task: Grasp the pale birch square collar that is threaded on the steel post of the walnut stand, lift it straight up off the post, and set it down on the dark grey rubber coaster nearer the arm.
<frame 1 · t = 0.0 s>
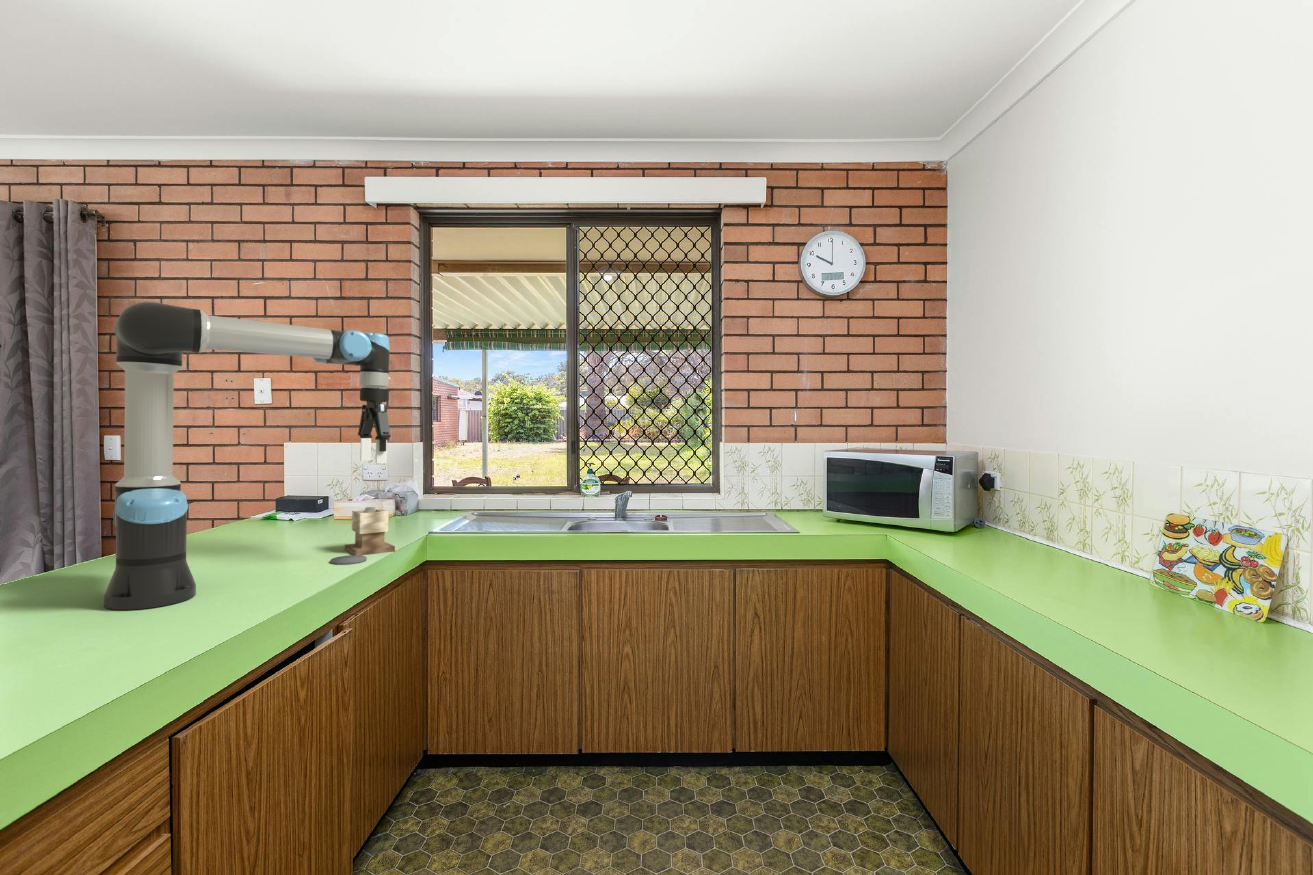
hand: (373, 461, 171), 28 cm above the counter, fingers open, 13 cm apart
rubber coaster: (348, 560, 168), on the counter
post stand: (369, 550, 182), on the counter
birch collar: (369, 530, 182), point 6 cm above the counter, touching post stand
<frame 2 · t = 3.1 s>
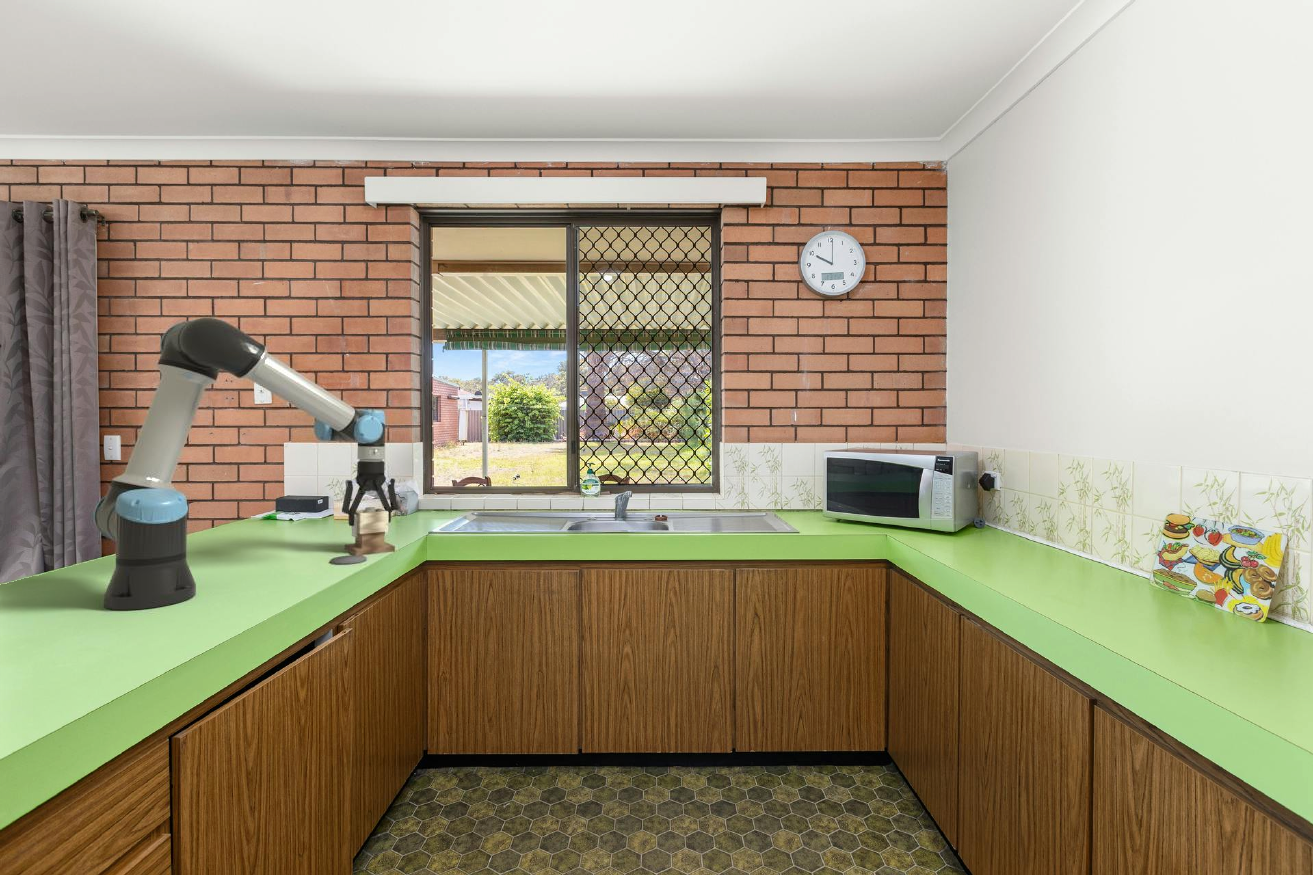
hand: (369, 534, 182), 5 cm above the counter, fingers closed on birch collar, 8 cm apart
birch collar: (369, 530, 182), point 6 cm above the counter, touching gripper, post stand
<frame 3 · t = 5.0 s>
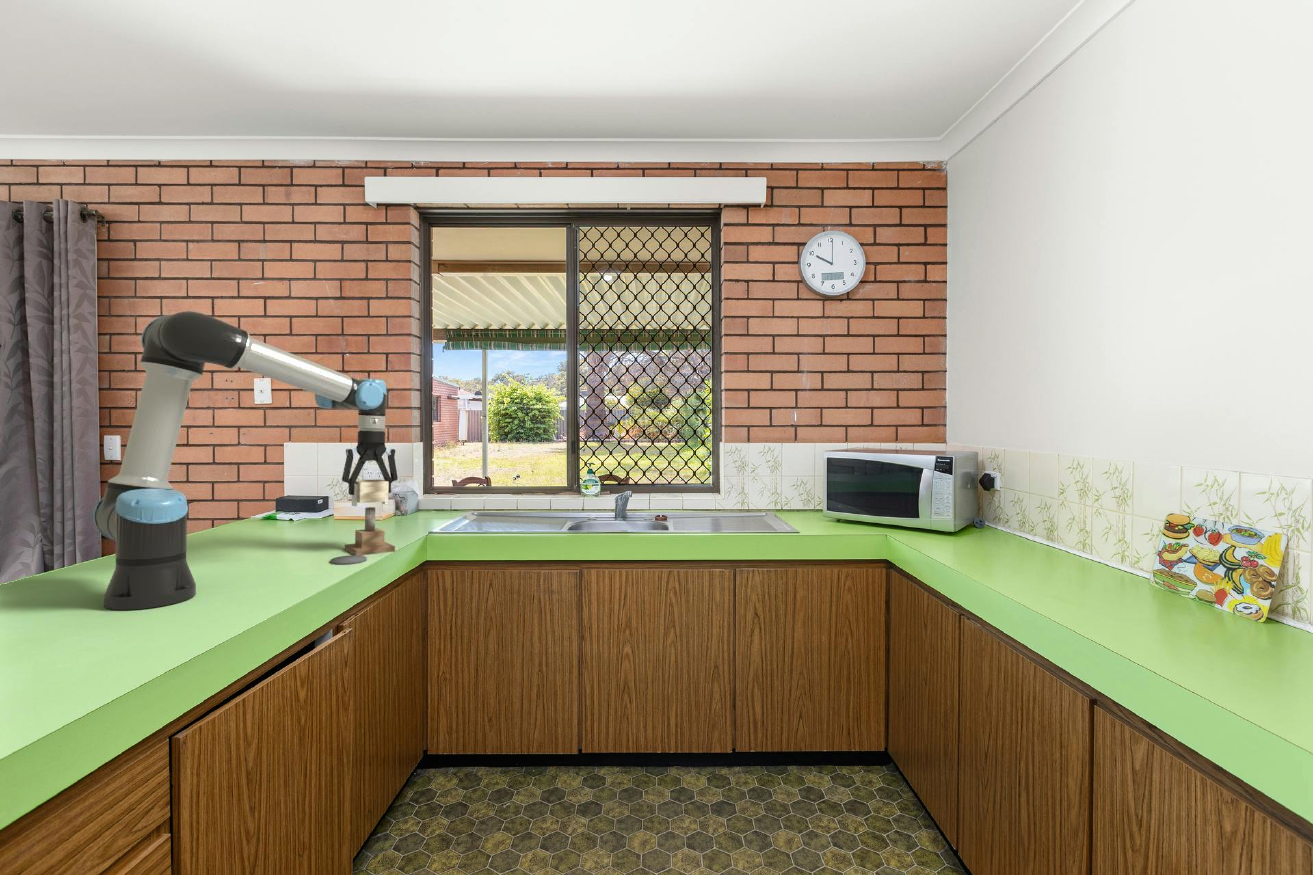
hand: (369, 504, 181), 14 cm above the counter, fingers closed on birch collar, 8 cm apart
birch collar: (369, 500, 181), point 15 cm above the counter, touching gripper
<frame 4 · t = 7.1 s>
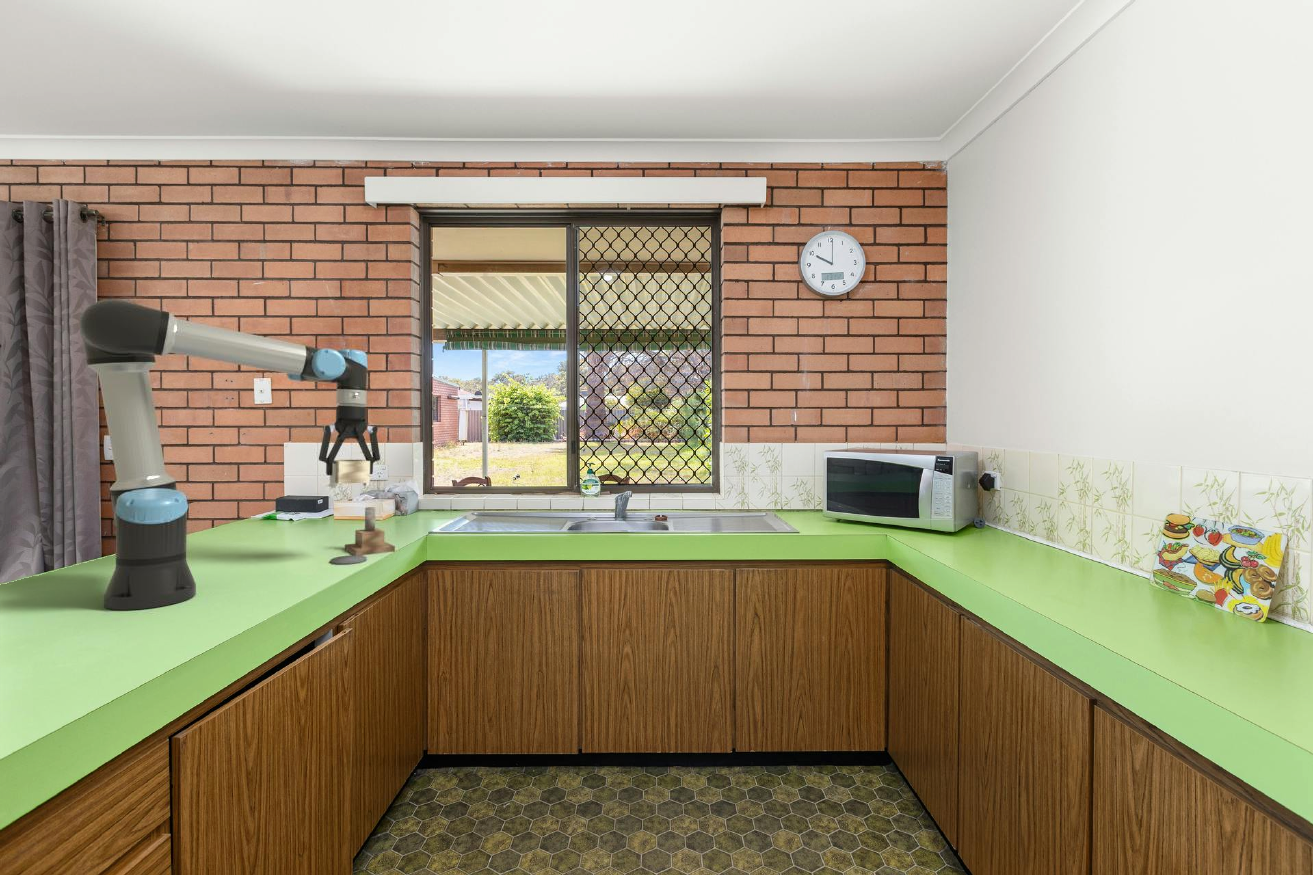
hand: (349, 486, 167), 21 cm above the counter, fingers closed on birch collar, 8 cm apart
birch collar: (349, 481, 167), point 22 cm above the counter, touching gripper
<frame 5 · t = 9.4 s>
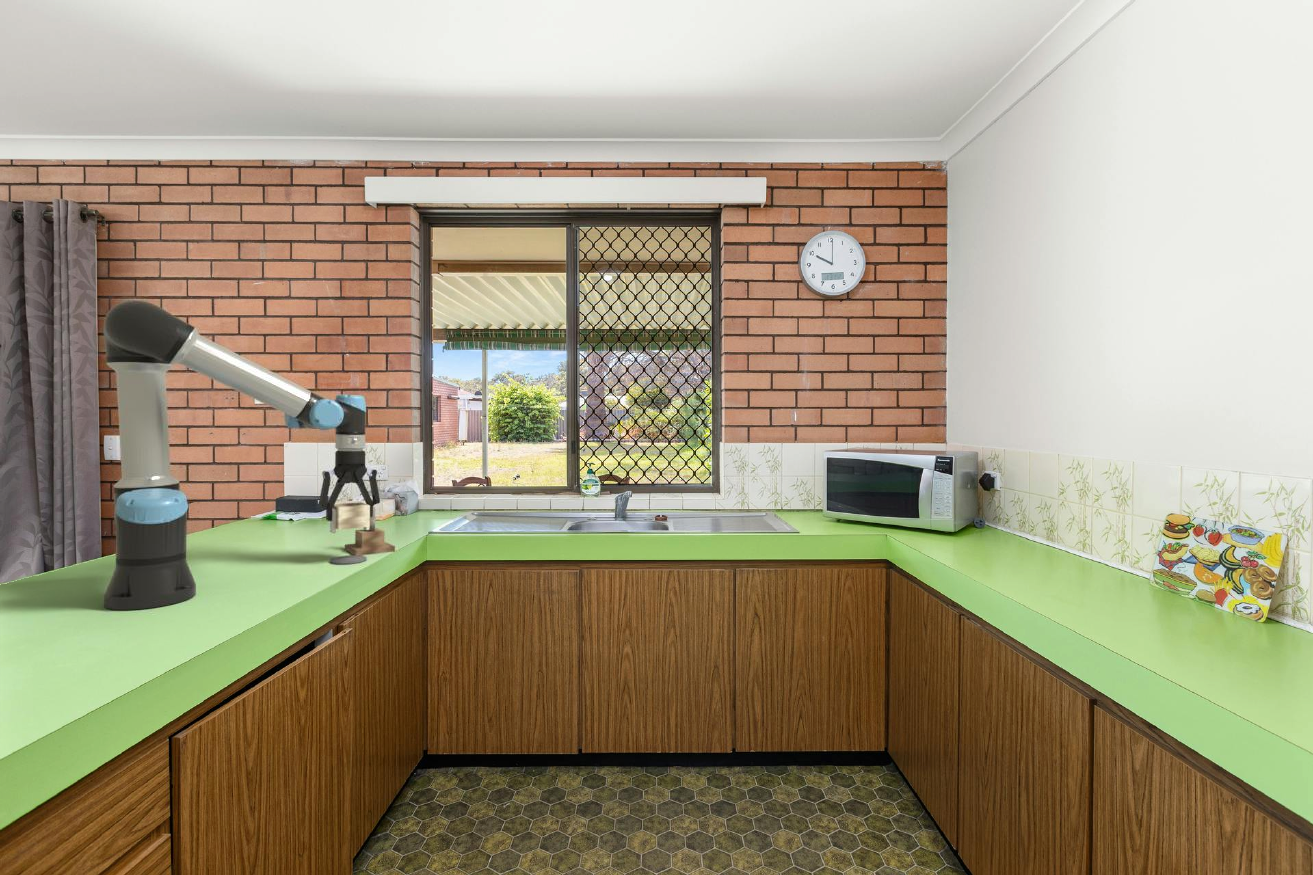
hand: (349, 530, 167), 9 cm above the counter, fingers closed on birch collar, 8 cm apart
birch collar: (349, 526, 167), point 10 cm above the counter, touching gripper
when the fingers open (2 cm above the counter, at t = 11.2 s): birch collar drops 2 cm, resting on rubber coaster.
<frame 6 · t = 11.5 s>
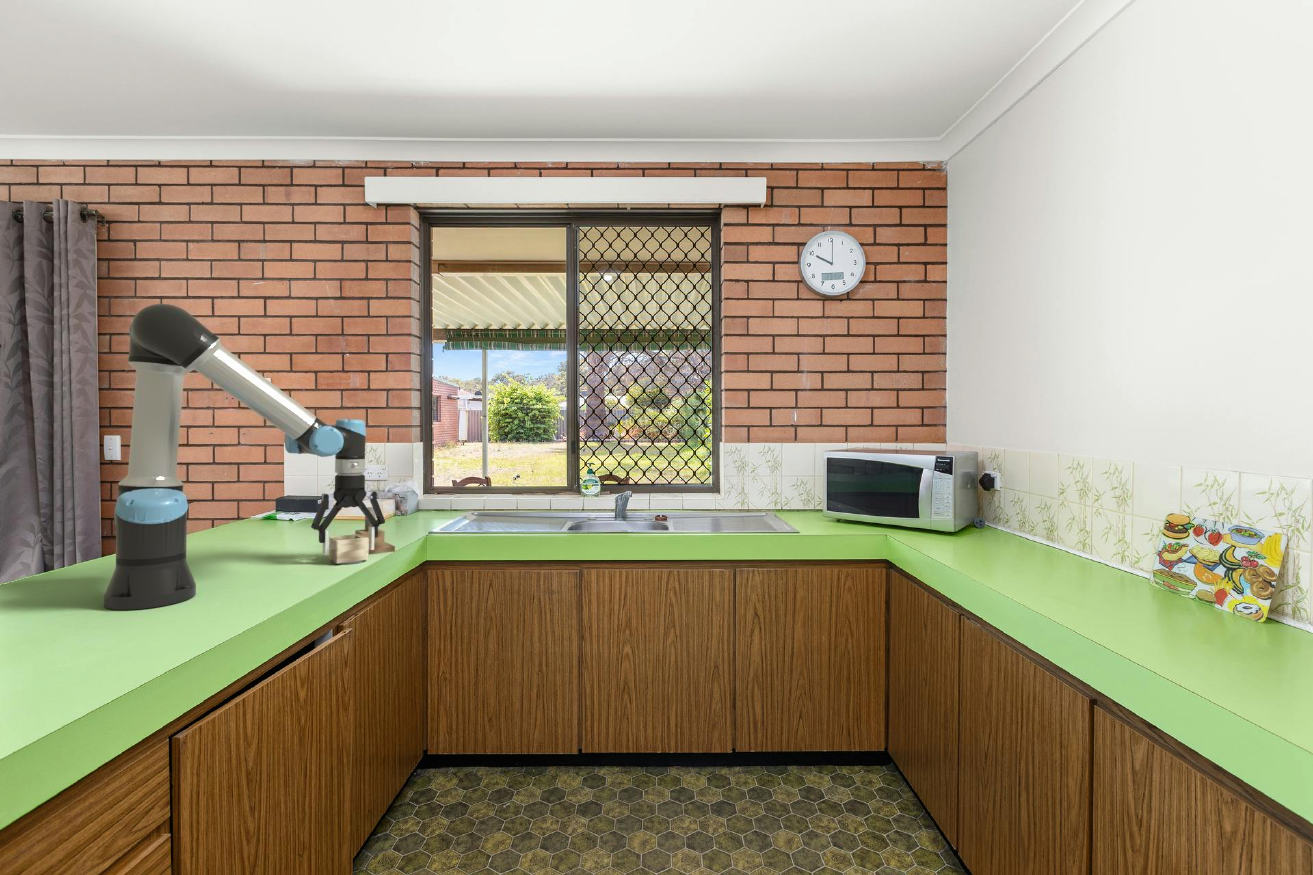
hand: (348, 551, 167), 3 cm above the counter, fingers open, 11 cm apart
birch collar: (348, 558, 167), point 1 cm above the counter, touching rubber coaster
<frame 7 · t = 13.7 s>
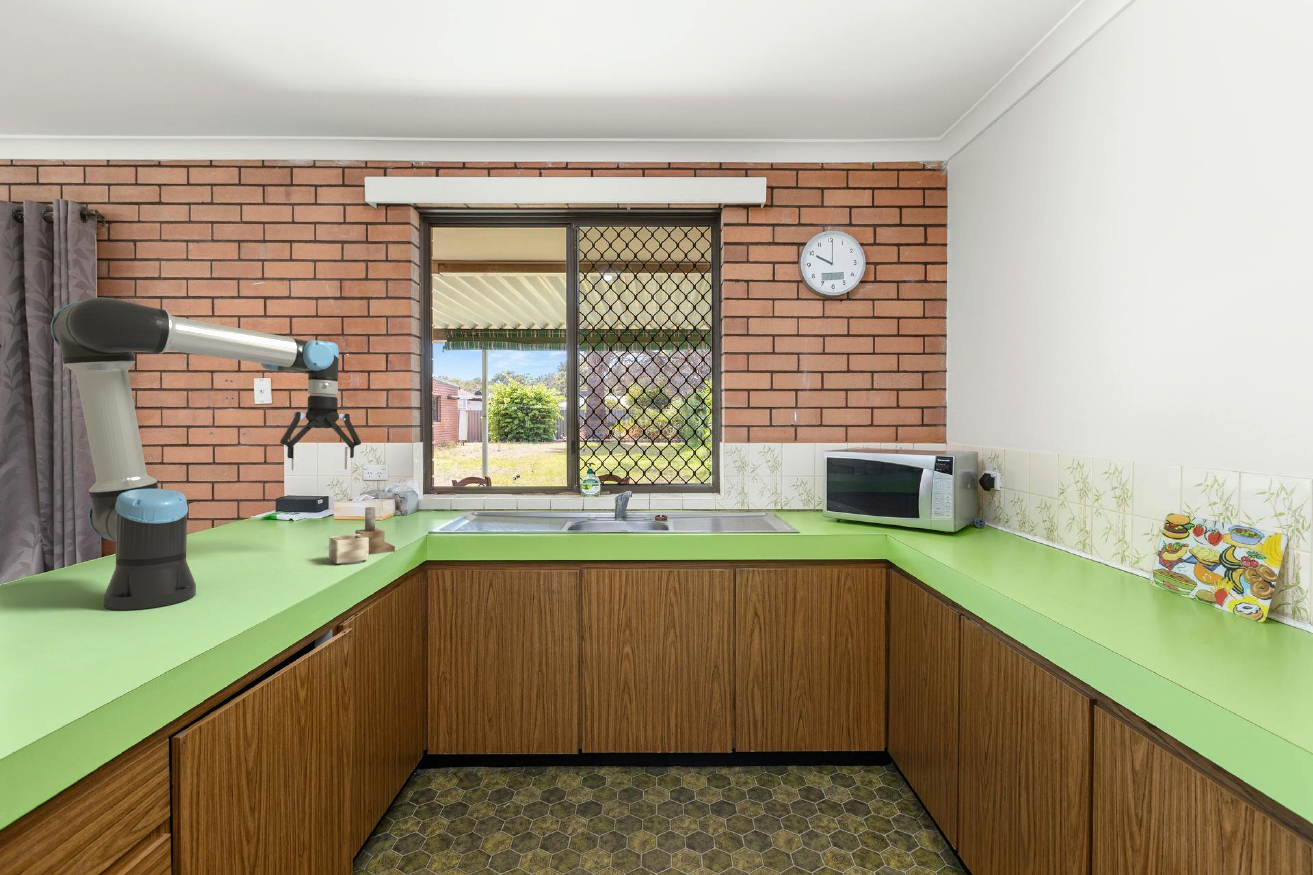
hand: (321, 469, 171), 25 cm above the counter, fingers open, 13 cm apart
nothing on the counter moved.
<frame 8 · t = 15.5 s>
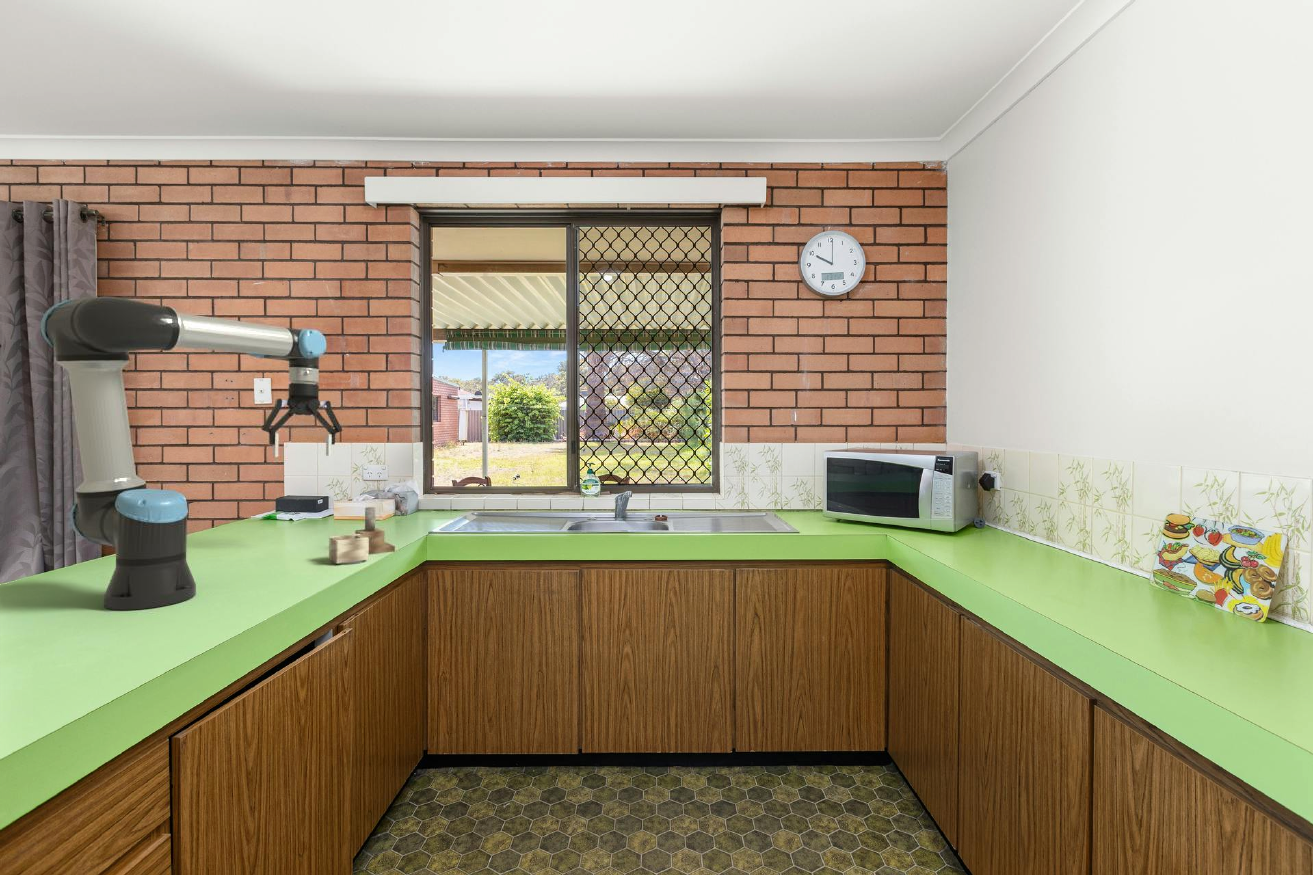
hand: (302, 456, 174), 29 cm above the counter, fingers open, 13 cm apart
nothing on the counter moved.
at the end: birch collar inside the target area on the rubber coaster (0.0 cm from its centre), point 0.6 cm above the rubber coaster's base; birch collar touching rubber coaster; birch collar tilted 0° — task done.
